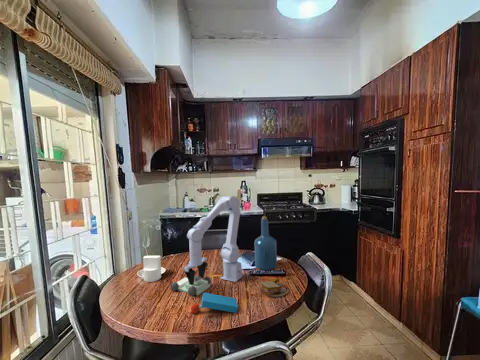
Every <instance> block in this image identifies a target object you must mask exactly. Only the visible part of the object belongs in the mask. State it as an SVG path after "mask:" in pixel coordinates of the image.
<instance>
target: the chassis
mask: <svg viewBox="0 0 480 360" xmlns="http://www.w3.org/2000/svg"><path fill="white" fill-rule="evenodd" d="M202 282H203V284H201V285H200V286H198V287H197V286H193V285H190V284H189V281H188V278H187V276H186V275H185V276H184V277H183V278H181V279H180V280H178V281H177V282H176V281H173V282H172V283H170V289H171V291H172V292H176V291H179V292H183V293H187V294H188V295H189V296H190V297H193V296H199V295H201V294H203V293H204V291H207V290H208V289H209V288H211V284H212V278H211V277H210V276H208V275H207V276H204V278H202Z"/></svg>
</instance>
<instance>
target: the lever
mask: <svg viewBox="0 0 480 360" xmlns="http://www.w3.org/2000/svg"><path fill="white" fill-rule="evenodd" d="M204 308H207V309H212V310H217V311H218V310H219V311H224V312H229V313H238V309H239V305H238V301H237V298H236V297H230V296H224V295H220V294H214V293H208V292H202V297H201V305H199V304H198V303H193V304H191V306H190V311H191V313H192V314H197V313H198V312H199V311H200V310H201V309H204Z"/></svg>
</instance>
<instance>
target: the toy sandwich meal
mask: <svg viewBox="0 0 480 360" xmlns="http://www.w3.org/2000/svg"><path fill="white" fill-rule="evenodd" d="M278 281H279V277H276V278H274V279H272V280H270V281H261V282H260V287H259V291H261V292H262V293H263V294H265V295H266V296H269V297H272V298H280V297H284V296H286V295H287V294H288V293H289V287H288V286H287V285H286V283H284V282H280V283H279V282H278ZM285 294H286V295H285Z"/></svg>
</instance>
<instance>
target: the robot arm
mask: <svg viewBox="0 0 480 360" xmlns="http://www.w3.org/2000/svg"><path fill="white" fill-rule="evenodd" d="M224 210H226V211H228V213H229V217H228V225H227V233H226V240H225V243H223V245H222V248H221V249H220V257H221V258H222V265H223V269H222V270H223V275H222V276H221V277H220V279H221V280H225V281H230V282H234V283H235V282H238V280H240V279H241V278H242V277H243V273H242V272H243V268H242V267H243V266H242V263H241V262H239V261H238V260H239V258H240V254H239V247H238V245H237V238H238V231H239V230H238V229H239V223H240V216H241V208H240V200H239V198H238V197H237V196H234V195H232V196H230V195H222V196H221V197H220V198H219V199H218V200H217V202H216V204H215V206H214V207H213V208H212V209H211V210H210V211H209V213H208V214H207V216H203V217H200V219H199V220H198V222H197V223H196V224H195V225H193V227H192V228H190V229H189V230H188V232H187V234H186V238H187V239H188V244H189V246H188V247H189V261H188V263H187V265H186V266H184V269H183V273H184V274H185V277H186V276H187V278H188V281H189V284H191V285H193V284H194V276H195V275H196V270H193V269H194V268H196V267H197V270H198V271H197V272H198V276H201V278H202V279H204V278H205V272H206V269H207V266H208V263H207V257H202V256H203V255H202V240H203V239H204V234H205V233H206V231H207V230H208V229H209V228H210V227H211V226H212V223H213V222H212V221H213V220H214V219H215V218H216V217H217V216H218V215H219V214H220V213H221V212H222V211H224Z"/></svg>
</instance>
